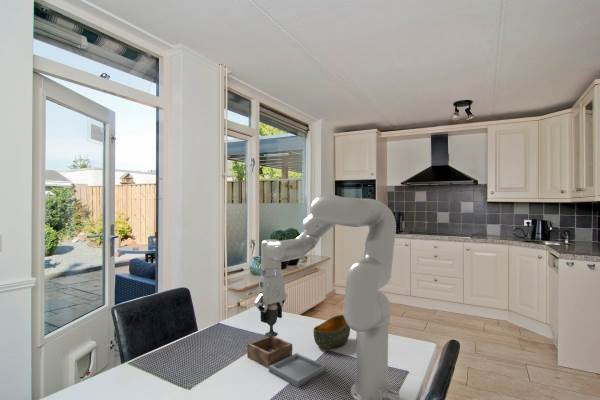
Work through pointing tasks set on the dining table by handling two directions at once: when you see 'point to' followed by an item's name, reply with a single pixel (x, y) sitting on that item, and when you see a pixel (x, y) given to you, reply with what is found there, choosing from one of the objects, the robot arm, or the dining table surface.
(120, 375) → the dining table surface
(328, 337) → the green bowl
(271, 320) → the sundae
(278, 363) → the tray
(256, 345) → the holder
